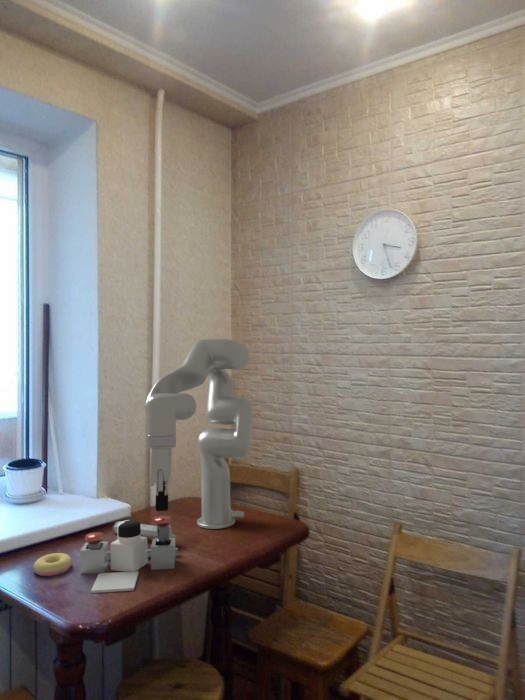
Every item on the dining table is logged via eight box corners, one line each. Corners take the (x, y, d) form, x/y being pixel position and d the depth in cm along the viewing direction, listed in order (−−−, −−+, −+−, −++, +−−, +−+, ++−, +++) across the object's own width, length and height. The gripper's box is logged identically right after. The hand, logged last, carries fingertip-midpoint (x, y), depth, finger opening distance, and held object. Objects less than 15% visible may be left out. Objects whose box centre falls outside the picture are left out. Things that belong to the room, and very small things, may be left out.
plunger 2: (172, 544, 147) (172, 515, 147) (171, 550, 142) (171, 520, 142) (155, 545, 146) (155, 516, 146) (153, 551, 142) (153, 521, 142)
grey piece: (123, 518, 173) (177, 521, 159) (125, 539, 173) (180, 544, 158) (110, 522, 169) (164, 526, 154) (112, 544, 168) (167, 549, 154)
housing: (177, 554, 151) (177, 533, 151) (176, 568, 142) (175, 545, 142) (86, 559, 148) (86, 538, 148) (78, 573, 139) (78, 550, 139)
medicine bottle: (148, 563, 145) (147, 519, 145) (133, 573, 139) (133, 527, 139) (125, 560, 148) (125, 516, 148) (110, 570, 141) (109, 524, 141)
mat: (138, 573, 138) (138, 571, 138) (133, 590, 129) (133, 587, 129) (98, 575, 137) (98, 573, 137) (90, 593, 127) (90, 590, 127)
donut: (74, 571, 146) (40, 566, 146) (77, 553, 147) (44, 549, 147) (62, 580, 137) (26, 575, 137) (66, 561, 137) (29, 556, 137)
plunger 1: (105, 561, 145) (104, 531, 145) (102, 568, 140) (101, 537, 140) (87, 562, 144) (87, 532, 144) (83, 569, 140) (83, 538, 140)
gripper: (150, 437, 151) (150, 503, 151) (144, 446, 136) (144, 518, 136) (177, 437, 152) (177, 502, 152) (174, 445, 137) (174, 517, 137)
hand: (162, 509), depth 144 cm, fingers closed
